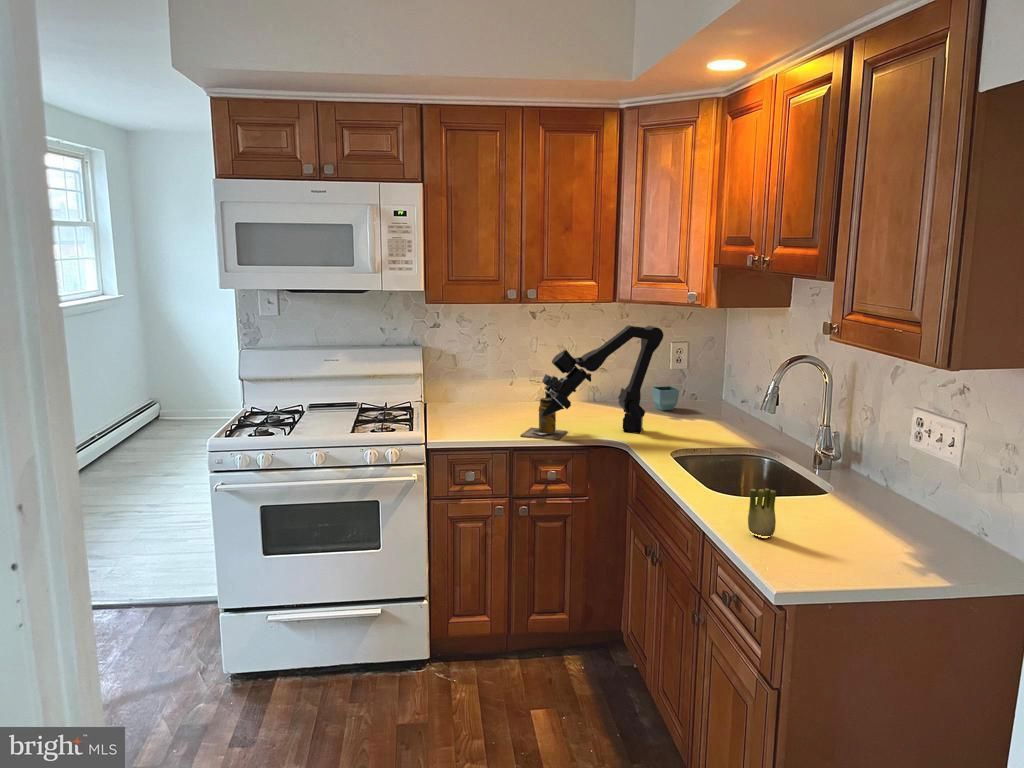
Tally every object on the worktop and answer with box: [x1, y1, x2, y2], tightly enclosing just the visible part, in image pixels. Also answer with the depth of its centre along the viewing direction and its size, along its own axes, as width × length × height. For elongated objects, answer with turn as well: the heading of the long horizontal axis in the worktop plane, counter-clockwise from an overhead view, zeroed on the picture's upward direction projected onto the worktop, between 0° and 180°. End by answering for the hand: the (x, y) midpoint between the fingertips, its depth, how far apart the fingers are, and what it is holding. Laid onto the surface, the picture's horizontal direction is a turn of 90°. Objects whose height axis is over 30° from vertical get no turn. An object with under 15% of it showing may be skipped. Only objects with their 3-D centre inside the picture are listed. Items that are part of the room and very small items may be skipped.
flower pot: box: [651, 385, 680, 411], centre depth 322 cm, size 9×9×9 cm
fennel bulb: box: [747, 487, 777, 537], centre depth 185 cm, size 6×5×12 cm
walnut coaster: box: [519, 427, 568, 441], centre depth 281 cm, size 14×12×1 cm
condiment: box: [530, 397, 560, 435], centre depth 279 cm, size 7×8×12 cm
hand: (541, 413), depth 279 cm, fingers open, 6 cm apart
